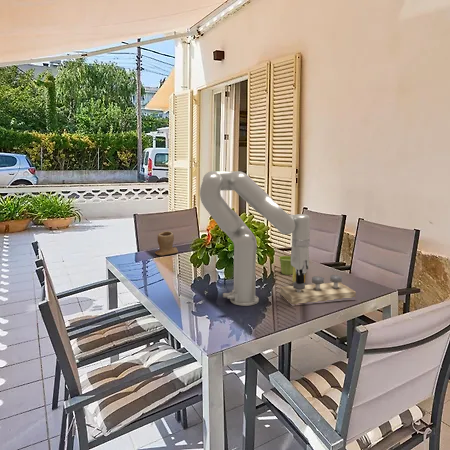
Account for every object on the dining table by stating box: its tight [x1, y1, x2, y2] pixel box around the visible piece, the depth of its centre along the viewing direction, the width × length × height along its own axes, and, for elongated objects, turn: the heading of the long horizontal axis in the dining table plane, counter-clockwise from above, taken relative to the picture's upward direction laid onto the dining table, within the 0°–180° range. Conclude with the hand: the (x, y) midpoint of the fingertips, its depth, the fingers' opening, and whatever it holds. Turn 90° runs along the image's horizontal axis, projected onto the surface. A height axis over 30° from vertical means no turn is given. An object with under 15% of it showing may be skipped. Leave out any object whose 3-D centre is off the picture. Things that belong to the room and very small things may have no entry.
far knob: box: [329, 274, 343, 289], centre depth 184 cm, size 5×5×6 cm
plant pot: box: [278, 255, 293, 276], centre depth 219 cm, size 9×9×9 cm
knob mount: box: [279, 282, 357, 304], centre depth 182 cm, size 30×14×4 cm, turn 103°
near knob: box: [292, 281, 306, 292], centre depth 180 cm, size 5×5×6 cm
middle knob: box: [311, 275, 325, 291], centre depth 182 cm, size 5×5×6 cm
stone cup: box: [154, 230, 179, 257], centre depth 259 cm, size 15×12×15 cm
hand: (299, 282), depth 179 cm, fingers closed
